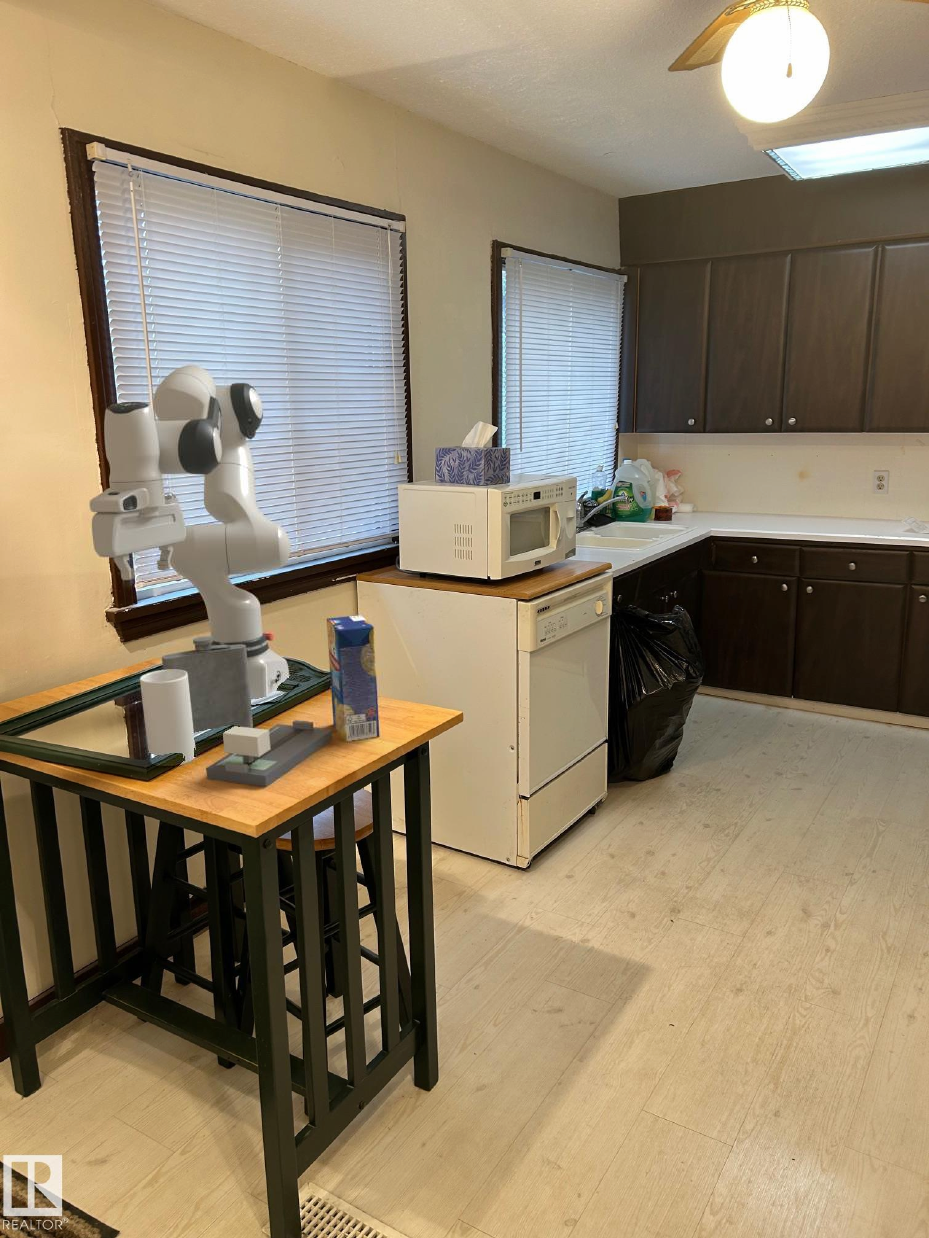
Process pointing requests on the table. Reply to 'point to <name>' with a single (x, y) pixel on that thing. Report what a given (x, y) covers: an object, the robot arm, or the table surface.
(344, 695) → the beverage box
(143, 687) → the cup
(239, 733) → the fader knob
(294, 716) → the table surface
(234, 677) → the hip flask
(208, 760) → the table surface
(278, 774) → the fader console
